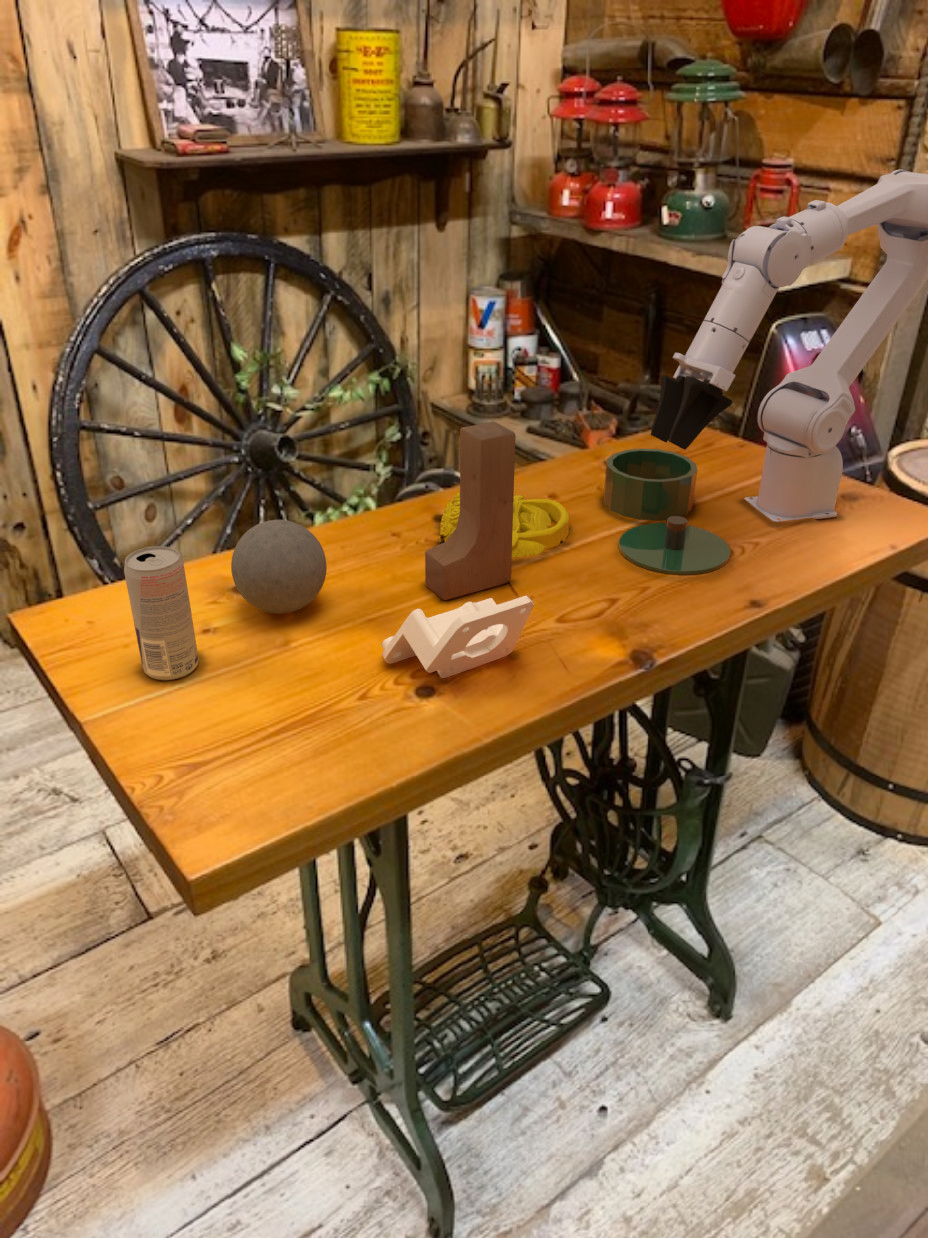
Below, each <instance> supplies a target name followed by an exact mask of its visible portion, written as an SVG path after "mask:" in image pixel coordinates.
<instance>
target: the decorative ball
mask: <svg viewBox="0 0 928 1238" xmlns="http://www.w3.org/2000/svg"><path fill="white" fill-rule="evenodd" d="M230 570H231V577H232V581H233V584H234V585H235V587H236V590H237V591H238V593H239V594H240V596H241V597H242V598H243V599H244V600H245V601H246V602H247V603H248V604H250V605H251V606H253V607H254V608H256V610H260V611H262V612H265V613H268V614H278V615H282V614H283V615H284V614H289V613H293V612H297V611H299V610H301V609H303V608H305V607H307V606H308V605H309V604H310V603H312V602H313V600H314V599H315V598H316V597H317V596H318V595H319V593H320V592H321V590H322V588H323V586H324V584H325V581H326V578H327V558H326V554H325V551H324V548H323V546H322V544H321V543H320V541H319V539H318V538H317V537H316V536H315V535H314V533H313V532H311V531H310V530H309V529H307V528H306V527H305V526H304V525H301V524H299V523H297V522H294V521H291V520H286V519H271V520H270V519H269V520H265V521H263V522H259V523H258V524H255V525H254V526H253V527H251V528H249V529H248V530H247V531H245V533H244V534H242V536H241V537H240V538H239V540H238V541H237V543H236V545H235V547H234V550H233V552H232V556H231V562H230Z"/></svg>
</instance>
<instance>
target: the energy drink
mask: <svg viewBox="0 0 928 1238" xmlns="http://www.w3.org/2000/svg"><path fill="white" fill-rule="evenodd" d="M123 573H124V578H125V583H126V589H127V594H128V599H129V605H130V610H131V615H132V619H133V624H134V630H135V636H136V641H137V646H138V651H139V657H140V661H141V667H142V671H143V672H144V674H145V675H147V676H148V677H150V678H151V679H154V680H157V681H173V680H178V679H182V678H184V677H186V676H188V675H190V674H191V673H192V672H193V671H194V670H196V668H197V667H198V665H199V661H200V659H199V658H200V657H199V653H198V652H199V651H198V646H197V639H196V633H195V627H194V620H193V614H192V608H191V601H190V595H189V588H188V583H187V576H186V569H185V562H184V560H183V558H182V557H181V554H180V552H179V551H178V550H177V549H175V548H172V547H169V546H162V545H161V546H160V545H158V546H157V545H156V546H148V547H144V548H140V549H137V550H135V551H133V552H131V553H129V554H128V555H127V556H126V557H125V559H124V567H123Z"/></svg>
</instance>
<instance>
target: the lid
mask: <svg viewBox="0 0 928 1238" xmlns="http://www.w3.org/2000/svg"><path fill="white" fill-rule="evenodd" d="M618 551H619V552H620V555H622V556H623V557H624V558H625V559H626V560H627V561H629V562H630V563H632V564H634V565H636V566H638V567H641V568H643V569H645V570H649V571H652V572H656V573H661V574H667V575H678V576H679V575H680V576H691V575H692V576H693V575H700V574H707V573H710V572H714V571H716V570H718V569H720V568H722V567H723V566H725V565H726V564H727V563H728V561H729V560H730V558H731V557H730V556H731V548H730V546H729V544H728V543H727V542H726V541H725V540H724V539H723V538H722V537H721V536H719V535H718V534H716V533H714V532H711V531H710V530H706V529H704V528H701V527H698V526H693V525H689V524H688V519H687V518H686V517H684V516H681V517H680V516H671V517H669V518H668V519H667V520H666V522H654V523H646V524H641V525H637V526H634V527H632V528H629V529H628V530H626V531H624V533H622V535H620V537H619V540H618Z"/></svg>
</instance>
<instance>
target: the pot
mask: <svg viewBox="0 0 928 1238" xmlns="http://www.w3.org/2000/svg"><path fill="white" fill-rule="evenodd" d="M697 476H698V466H697V463H696V462H695V461H693V460H692V459H691V458H690V457H687V456H686V455H683V454H680V453H677V452H675V451H670V450H664V449H658V448H632V449H631V448H630V449H625V450H622V451H618V452H615V453H613V454H611V455H610V456H608V458H607V459H606V467H605V477H604V478H605V479H604V489H603V491H604V492H603V505H605V506H606V507H607V508H608V509H609V510H610V511H611V512H614V513H615V514H618V515H620V516H622V517H626V518H630V519H635V520H641V521H654V522H657V521H658V522H660V521H667V519H668V518H669V517H671V516H680V517H684V516H687V515H688V514H689V513H690V511H692V509H693V507H694V499H695V493H696V492H695V491H696V485H697V484H696V483H697V478H698V477H697Z"/></svg>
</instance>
